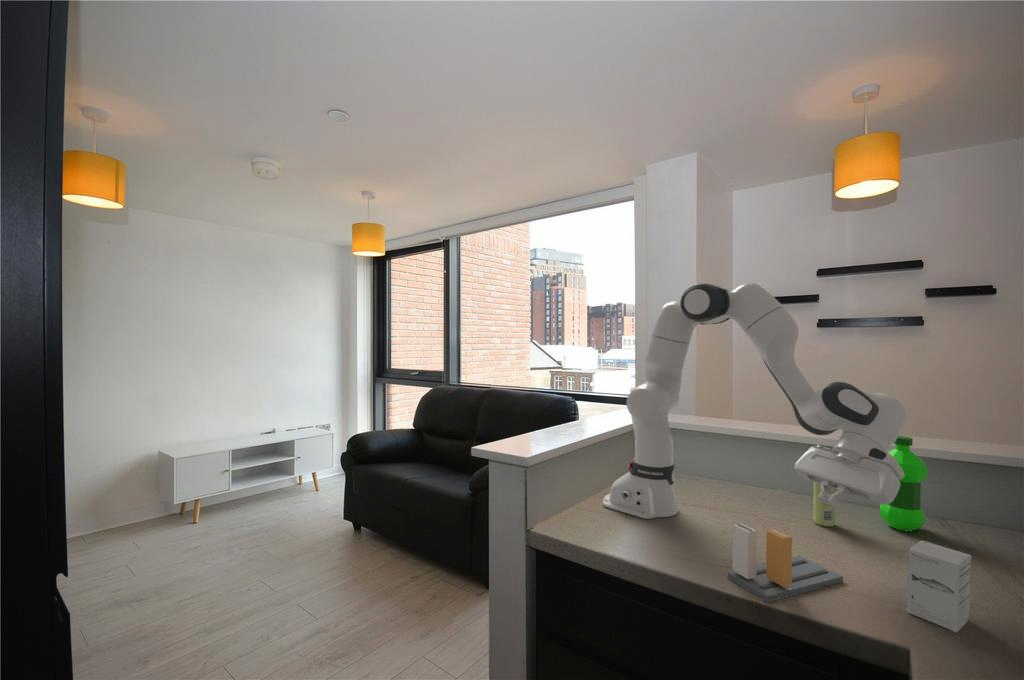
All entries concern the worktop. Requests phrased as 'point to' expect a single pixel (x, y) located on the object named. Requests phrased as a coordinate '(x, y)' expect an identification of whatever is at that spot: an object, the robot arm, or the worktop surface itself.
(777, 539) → the fader orange
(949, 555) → the supplement box
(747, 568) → the fader white
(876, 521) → the worktop surface
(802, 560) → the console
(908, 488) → the plastic bottle
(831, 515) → the tube
